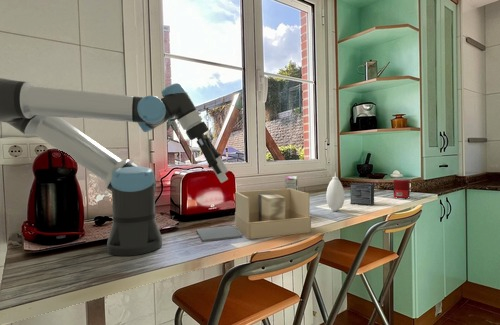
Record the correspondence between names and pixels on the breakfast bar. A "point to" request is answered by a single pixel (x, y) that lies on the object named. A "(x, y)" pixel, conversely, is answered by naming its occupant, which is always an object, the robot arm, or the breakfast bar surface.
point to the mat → (218, 233)
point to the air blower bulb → (335, 194)
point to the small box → (362, 193)
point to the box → (271, 207)
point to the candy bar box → (292, 182)
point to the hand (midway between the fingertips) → (225, 176)
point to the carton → (292, 224)
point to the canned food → (401, 187)
